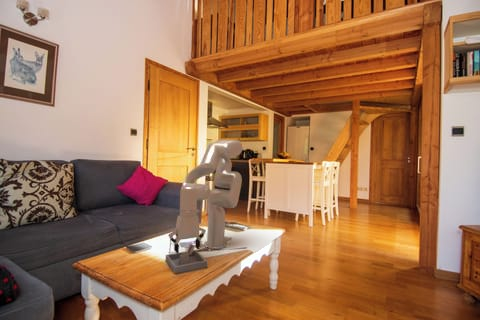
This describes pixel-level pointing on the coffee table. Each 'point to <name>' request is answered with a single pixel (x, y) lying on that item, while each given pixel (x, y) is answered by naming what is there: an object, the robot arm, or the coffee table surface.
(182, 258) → the lighter
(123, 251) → the coffee table surface
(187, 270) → the tray
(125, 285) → the coffee table surface
